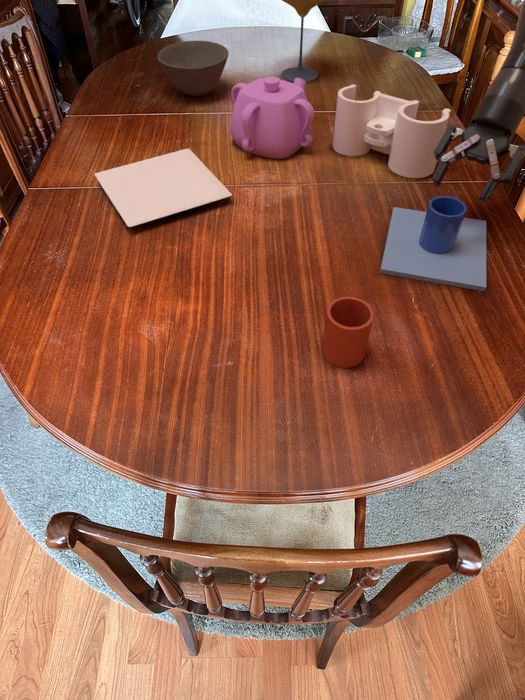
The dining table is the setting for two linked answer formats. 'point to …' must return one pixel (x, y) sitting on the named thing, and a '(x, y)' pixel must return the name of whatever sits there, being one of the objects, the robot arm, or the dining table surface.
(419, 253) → the blue mat
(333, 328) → the terracotta cup
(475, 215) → the dining table surface
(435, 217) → the blue cup
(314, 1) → the cocktail glass
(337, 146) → the bracket
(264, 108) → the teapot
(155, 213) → the plate
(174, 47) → the bowl
